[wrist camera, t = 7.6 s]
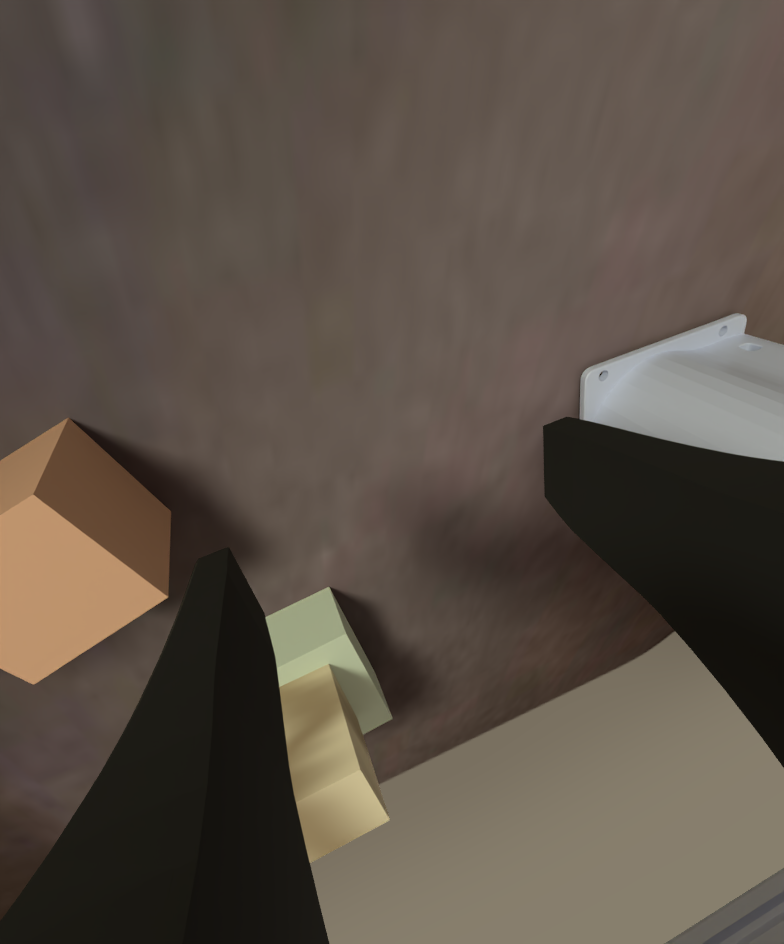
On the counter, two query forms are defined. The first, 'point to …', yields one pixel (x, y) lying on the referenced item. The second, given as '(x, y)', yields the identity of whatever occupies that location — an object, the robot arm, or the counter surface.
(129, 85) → the counter surface
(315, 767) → the beech cube
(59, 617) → the terracotta block
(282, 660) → the sage block
